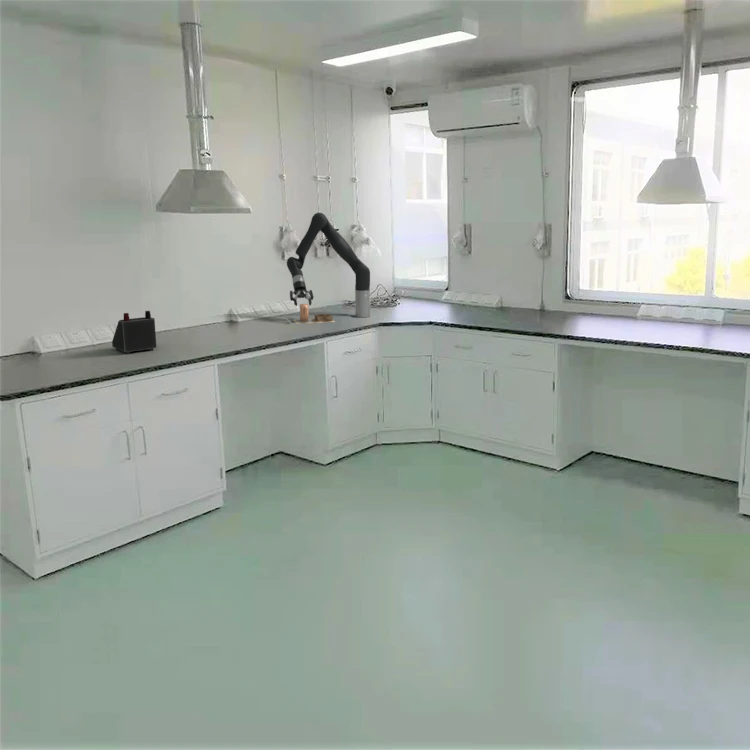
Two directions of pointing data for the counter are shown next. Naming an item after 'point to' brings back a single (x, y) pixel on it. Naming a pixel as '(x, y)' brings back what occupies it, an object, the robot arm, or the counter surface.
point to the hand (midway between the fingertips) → (303, 304)
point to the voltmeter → (135, 334)
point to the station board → (317, 319)
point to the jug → (304, 312)
